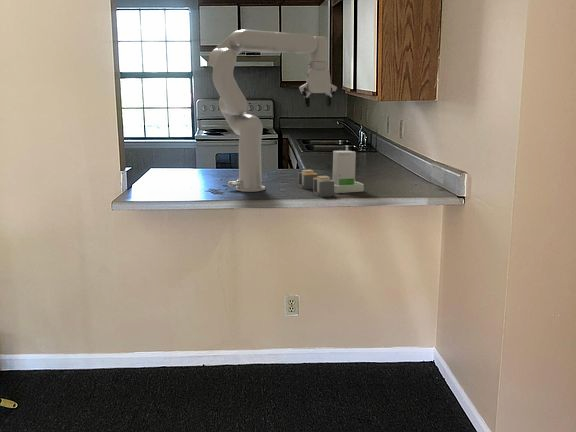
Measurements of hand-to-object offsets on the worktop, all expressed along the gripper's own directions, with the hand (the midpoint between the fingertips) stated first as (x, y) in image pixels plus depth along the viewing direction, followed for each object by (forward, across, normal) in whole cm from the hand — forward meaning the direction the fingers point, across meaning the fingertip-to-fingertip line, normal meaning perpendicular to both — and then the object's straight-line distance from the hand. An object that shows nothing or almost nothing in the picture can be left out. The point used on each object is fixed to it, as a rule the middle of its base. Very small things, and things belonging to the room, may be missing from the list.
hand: (318, 106), depth 268 cm
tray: (+34, +6, -16) cm, 38 cm away
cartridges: (+34, -7, -15) cm, 38 cm away
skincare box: (+34, +6, -16) cm, 38 cm away
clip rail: (+34, -7, -15) cm, 38 cm away
